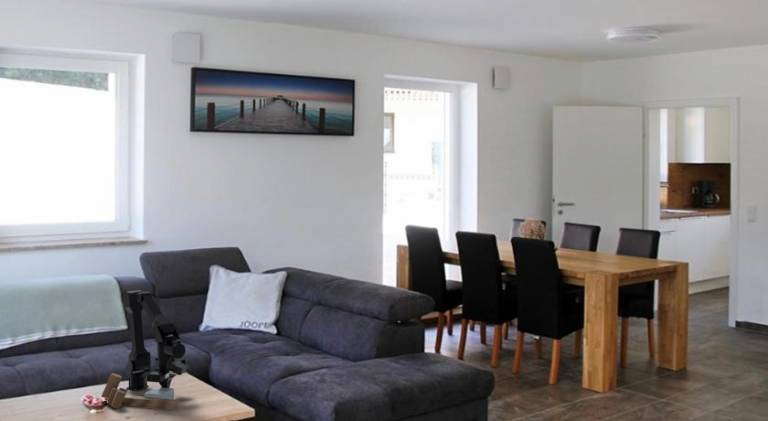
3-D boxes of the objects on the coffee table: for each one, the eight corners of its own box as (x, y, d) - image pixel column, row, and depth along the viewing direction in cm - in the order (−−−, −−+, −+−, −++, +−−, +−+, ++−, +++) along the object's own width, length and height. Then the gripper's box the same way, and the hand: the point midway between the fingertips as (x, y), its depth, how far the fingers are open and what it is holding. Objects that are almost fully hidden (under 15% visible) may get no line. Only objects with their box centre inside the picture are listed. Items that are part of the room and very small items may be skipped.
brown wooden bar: (120, 405, 299) (120, 397, 299) (125, 402, 302) (125, 395, 302) (172, 410, 293) (172, 402, 292) (176, 407, 295) (176, 399, 295)
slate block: (144, 404, 299) (144, 393, 299) (158, 398, 308) (157, 387, 308) (161, 406, 297) (160, 394, 297) (174, 400, 306) (173, 388, 306)
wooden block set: (121, 415, 295) (133, 389, 295) (99, 407, 292) (110, 381, 293) (122, 400, 312) (133, 375, 312) (100, 393, 309) (111, 368, 310)
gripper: (170, 361, 296) (171, 402, 297) (195, 349, 314) (197, 388, 315) (144, 359, 299) (145, 400, 301) (170, 347, 317) (172, 386, 318)
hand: (166, 393), depth 309 cm, fingers closed
